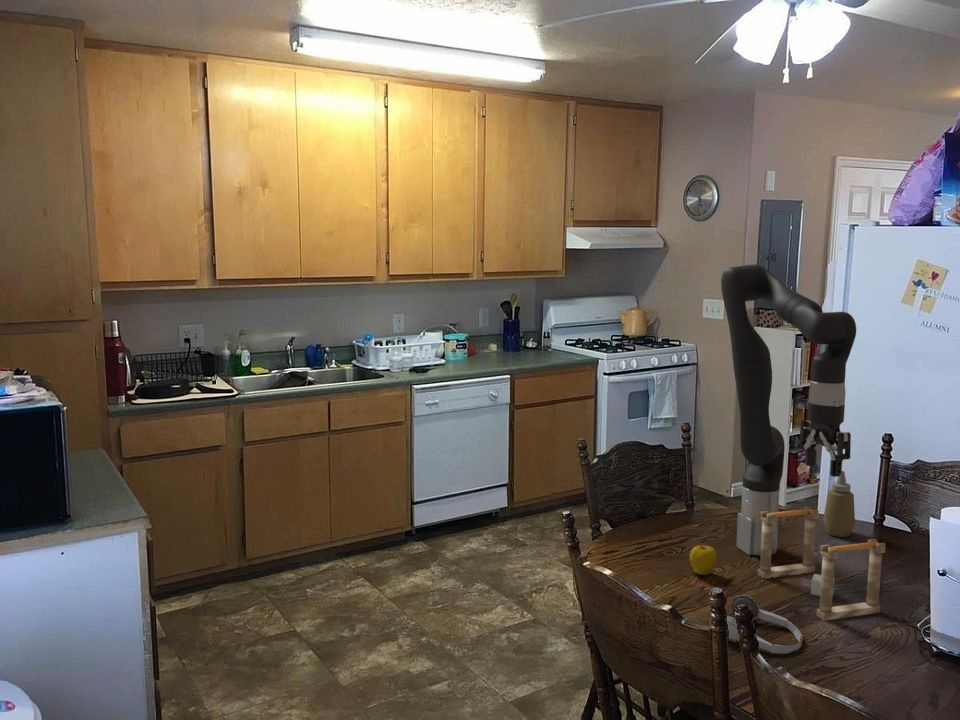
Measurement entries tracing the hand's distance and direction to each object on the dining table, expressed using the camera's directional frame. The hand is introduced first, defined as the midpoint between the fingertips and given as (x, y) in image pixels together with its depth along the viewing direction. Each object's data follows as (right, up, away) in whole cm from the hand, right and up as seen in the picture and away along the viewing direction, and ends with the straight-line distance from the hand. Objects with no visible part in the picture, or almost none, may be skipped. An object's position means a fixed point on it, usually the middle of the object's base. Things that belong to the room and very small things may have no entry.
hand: (822, 470), depth 178 cm
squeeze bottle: (+22, -24, +40) cm, 52 cm away
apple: (-23, -28, +15) cm, 39 cm away
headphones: (-20, -32, -13) cm, 40 cm away
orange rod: (+3, -15, -8) cm, 18 cm away
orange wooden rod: (-3, -12, +13) cm, 18 cm away
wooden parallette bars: (0, -29, +4) cm, 29 cm away
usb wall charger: (0, -29, +4) cm, 30 cm away
